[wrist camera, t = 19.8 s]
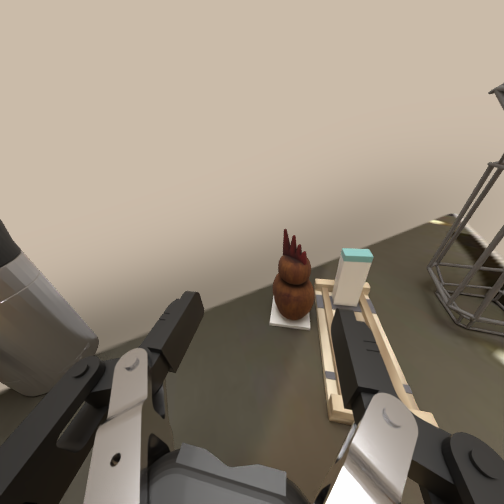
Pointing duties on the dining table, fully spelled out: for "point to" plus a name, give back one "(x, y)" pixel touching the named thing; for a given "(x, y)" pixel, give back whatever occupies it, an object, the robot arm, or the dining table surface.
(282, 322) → the pad
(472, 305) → the dining table surface
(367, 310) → the light wooden tray
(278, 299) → the wooden figurine
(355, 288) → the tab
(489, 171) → the geometric lantern
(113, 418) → the robot arm
